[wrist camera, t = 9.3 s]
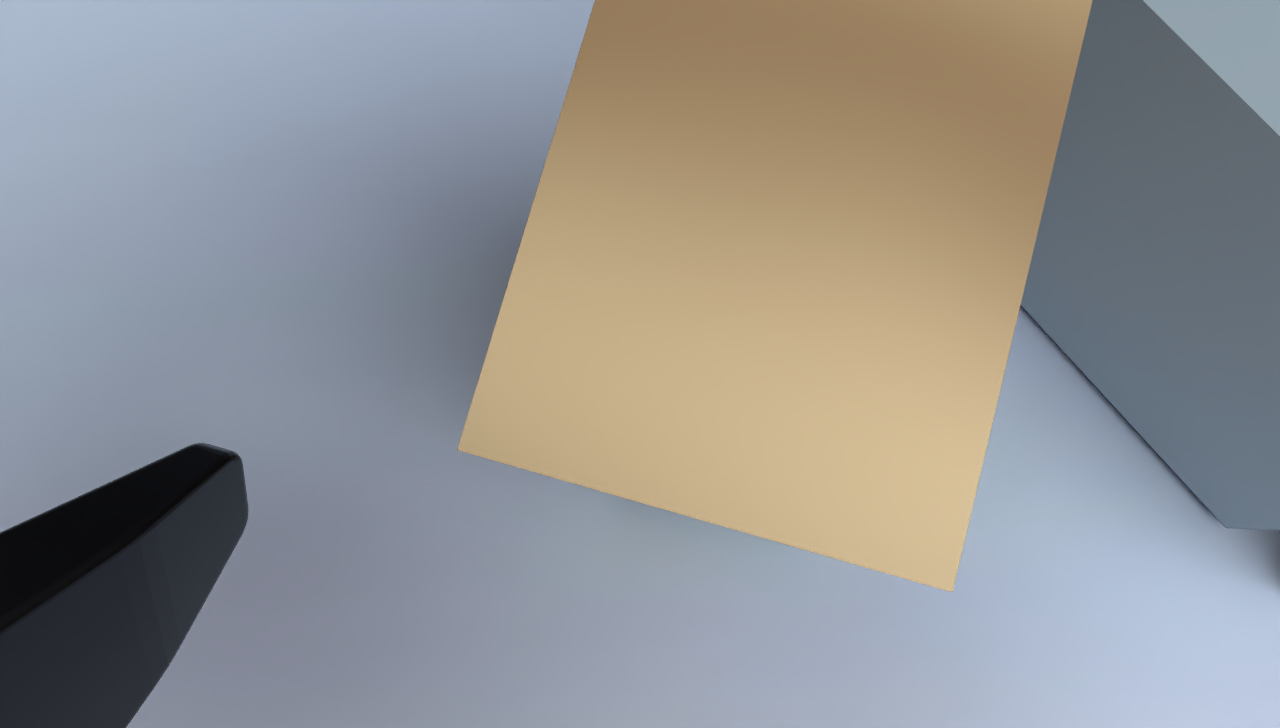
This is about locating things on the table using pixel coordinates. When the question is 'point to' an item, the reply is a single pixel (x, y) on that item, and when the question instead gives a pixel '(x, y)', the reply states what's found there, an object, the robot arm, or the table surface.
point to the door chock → (784, 265)
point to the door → (1175, 239)
